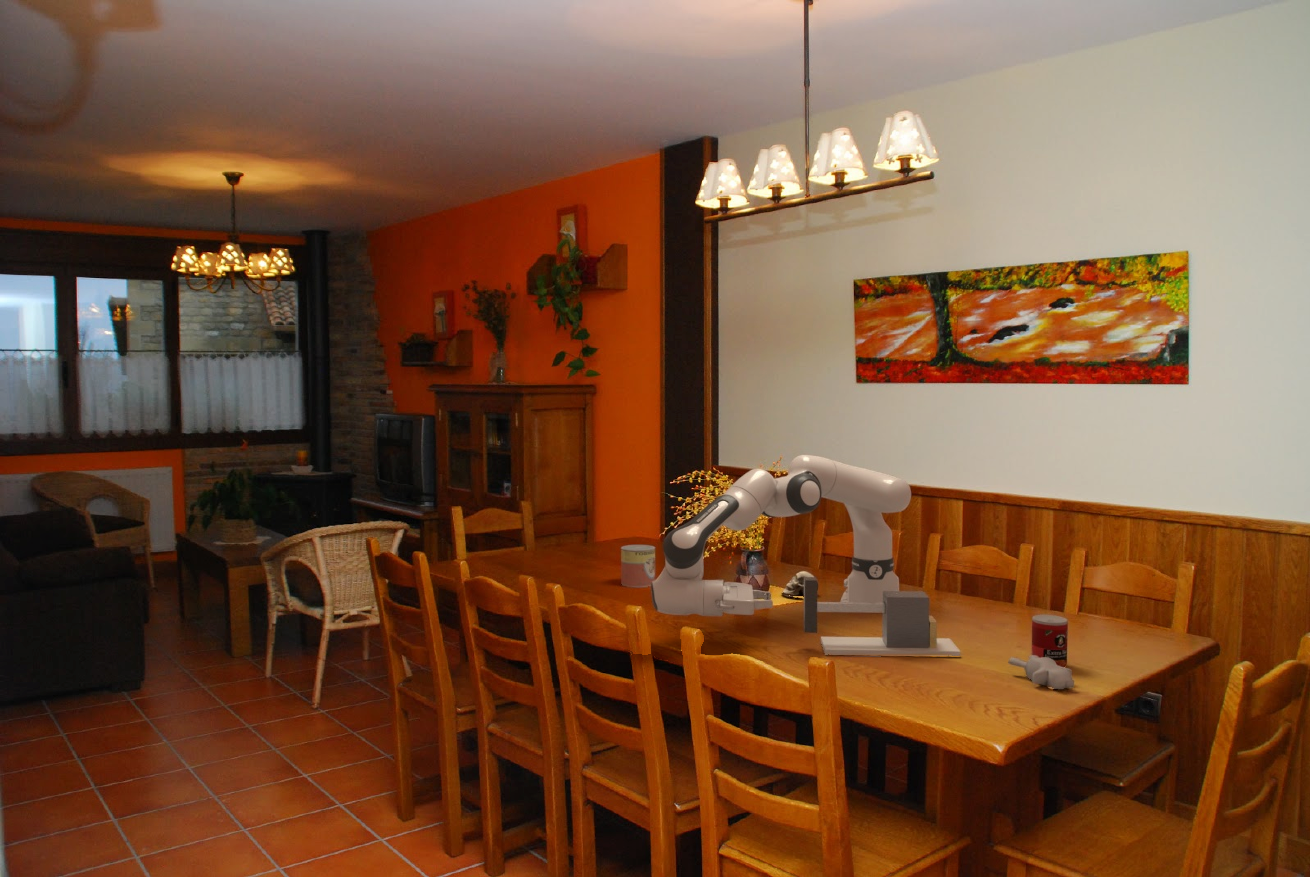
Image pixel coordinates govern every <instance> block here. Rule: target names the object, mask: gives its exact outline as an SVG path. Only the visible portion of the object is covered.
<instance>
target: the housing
mask: <svg viewBox="0 0 1310 877" xmlns="http://www.w3.org/2000/svg"><path fill="white" fill-rule="evenodd" d="M883 603H886V613H882V626H881V627H882V631H881V632H882V635H881V636H882V640H883V642H884V644H885V646H886V647H887V648H929V616H930V596H928V594H927V593H926V592H925V591H922V590H920V591H914V590H910V591H909V590H908V591H907V590H899V591H883Z"/></svg>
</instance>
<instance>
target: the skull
mask: <svg viewBox="0 0 1310 877" xmlns="http://www.w3.org/2000/svg"><path fill="white" fill-rule="evenodd" d="M804 577H815V576H814V575H813V574H812V573H810V572H808V571H805V570H802V571H799V572H797V573H796V574H795V576H791V579H790V580H789V582H788V583H787V584H786V585H785V588H784V589H783V590H782V592H783V593H782V592H781V595H782V596H784V597H787V598H788V597H789V598H790V597H793V596H803V597H804ZM818 590H819V581H818V579H817V592H818ZM789 595H790V596H789Z"/></svg>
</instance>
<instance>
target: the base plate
mask: <svg viewBox="0 0 1310 877" xmlns="http://www.w3.org/2000/svg"><path fill="white" fill-rule="evenodd" d="M821 644H822V645H821ZM820 645H821V647H823V648H822V650H824V651H823V653H825V654H824V656H825V655H828V654H829V655H831V654H832V655H948V656H949V655H952V656H961V654H962V652H961V649H959V647H957V645H956V644H955V643H954V642H953V640H952V639H951V638H948V637H947V638H944V637H942V638H940V637H938V638H937V648H930V647H929V648H887V647H886V646H885V644H884V642H883V640H882V637H879V636H878V637H877V636H876V637H874V636H873V637H872V636H870V637H869V636H867V637H865V636H820ZM961 657H962V656H961Z"/></svg>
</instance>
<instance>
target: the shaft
mask: <svg viewBox="0 0 1310 877" xmlns="http://www.w3.org/2000/svg"><path fill="white" fill-rule="evenodd" d="M817 580H818V579H817V576H814V577H804V599H803V631H804V634H808V633H809V634H812V633H813V634H817V633H818V613H876V614H877V613H878V614H879V613H882V614H883V613H886V603H864V602H840V601H818V591H817Z"/></svg>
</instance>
